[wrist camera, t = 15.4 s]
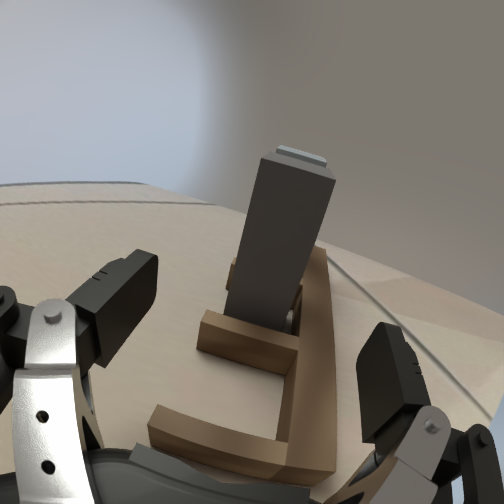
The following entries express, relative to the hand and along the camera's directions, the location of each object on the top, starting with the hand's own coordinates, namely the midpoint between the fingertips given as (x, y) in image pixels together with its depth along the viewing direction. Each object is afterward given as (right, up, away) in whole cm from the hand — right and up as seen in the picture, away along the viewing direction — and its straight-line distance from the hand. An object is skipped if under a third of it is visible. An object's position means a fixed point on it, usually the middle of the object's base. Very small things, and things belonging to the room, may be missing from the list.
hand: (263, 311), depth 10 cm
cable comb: (+1, -4, +12) cm, 12 cm away
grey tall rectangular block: (0, -3, +12) cm, 12 cm away
